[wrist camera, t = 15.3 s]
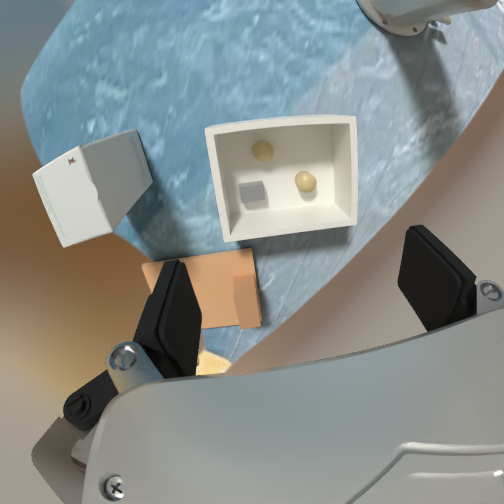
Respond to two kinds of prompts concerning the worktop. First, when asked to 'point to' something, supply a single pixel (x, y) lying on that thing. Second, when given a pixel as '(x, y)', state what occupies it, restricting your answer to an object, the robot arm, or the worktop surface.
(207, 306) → the lid
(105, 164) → the skincare box
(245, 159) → the tub
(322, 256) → the worktop surface
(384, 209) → the worktop surface
